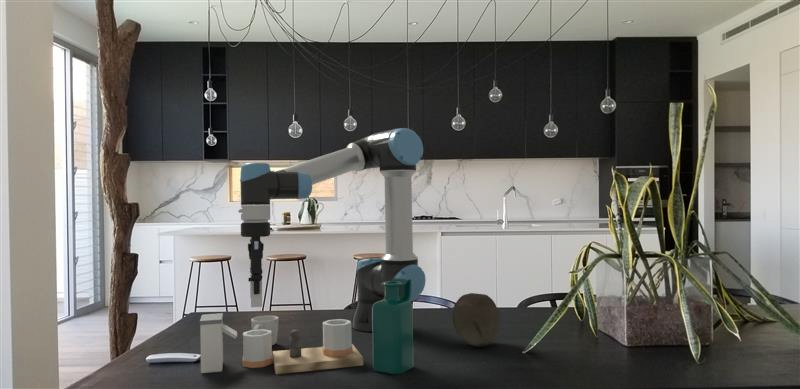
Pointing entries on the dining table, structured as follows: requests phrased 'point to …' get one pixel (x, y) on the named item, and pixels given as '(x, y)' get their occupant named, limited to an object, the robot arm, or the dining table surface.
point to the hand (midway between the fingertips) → (255, 302)
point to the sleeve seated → (337, 338)
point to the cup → (266, 325)
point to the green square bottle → (393, 328)
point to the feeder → (213, 341)
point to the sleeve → (257, 348)
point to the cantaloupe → (476, 319)
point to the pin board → (310, 358)
